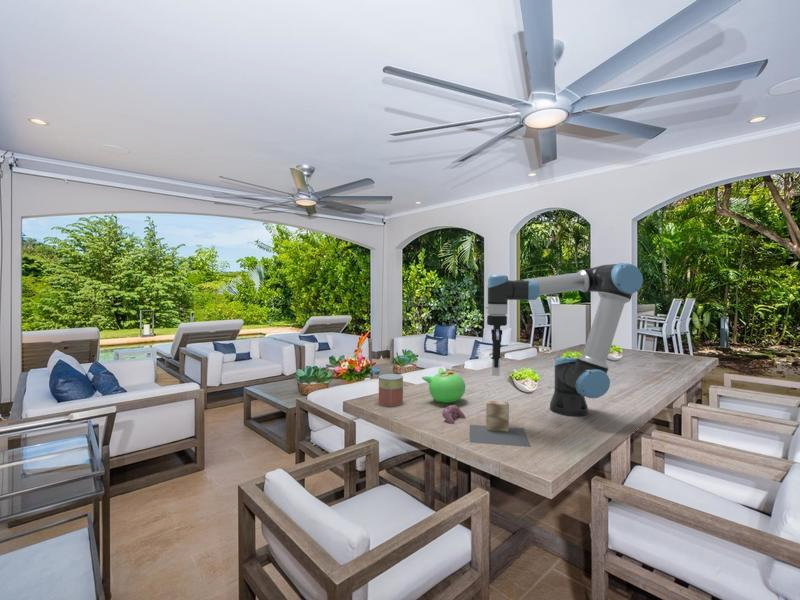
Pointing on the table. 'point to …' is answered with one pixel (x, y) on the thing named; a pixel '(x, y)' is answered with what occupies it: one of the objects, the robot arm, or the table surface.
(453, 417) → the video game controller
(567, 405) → the robot arm
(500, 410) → the oak tile
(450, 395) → the toy bird
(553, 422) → the table surface
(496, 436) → the rubber mat
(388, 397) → the canned food
